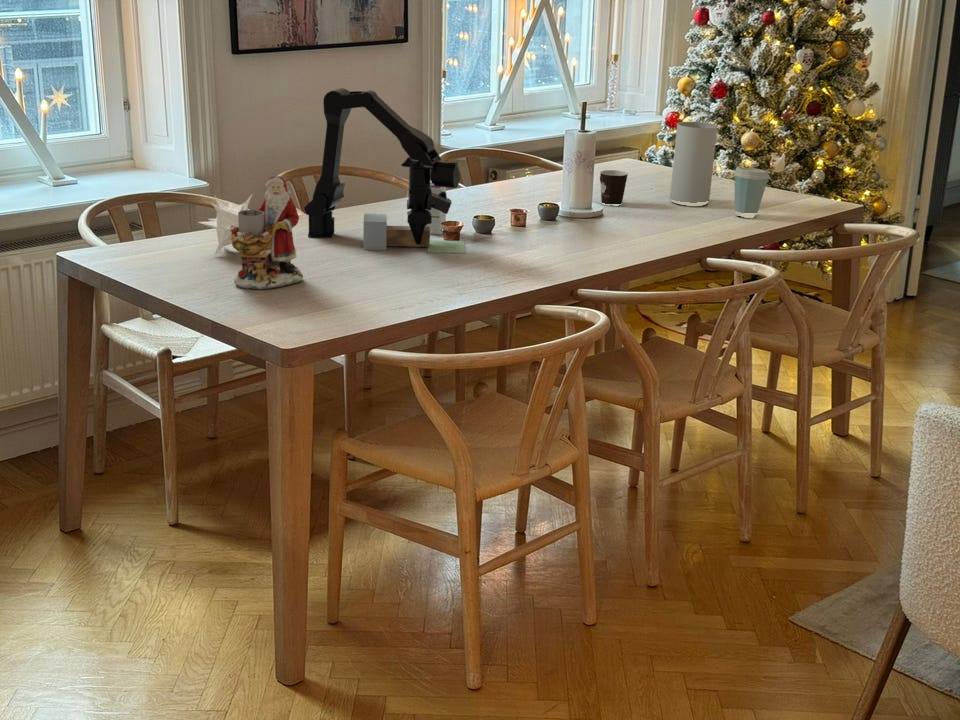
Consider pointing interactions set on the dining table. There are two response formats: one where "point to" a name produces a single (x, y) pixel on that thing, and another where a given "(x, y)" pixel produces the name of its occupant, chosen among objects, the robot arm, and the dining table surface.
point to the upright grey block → (374, 231)
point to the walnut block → (405, 236)
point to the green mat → (446, 246)
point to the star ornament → (225, 221)
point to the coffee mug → (612, 186)
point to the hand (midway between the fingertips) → (418, 241)
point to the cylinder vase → (693, 162)
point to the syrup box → (436, 213)
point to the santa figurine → (267, 240)
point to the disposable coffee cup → (749, 189)
